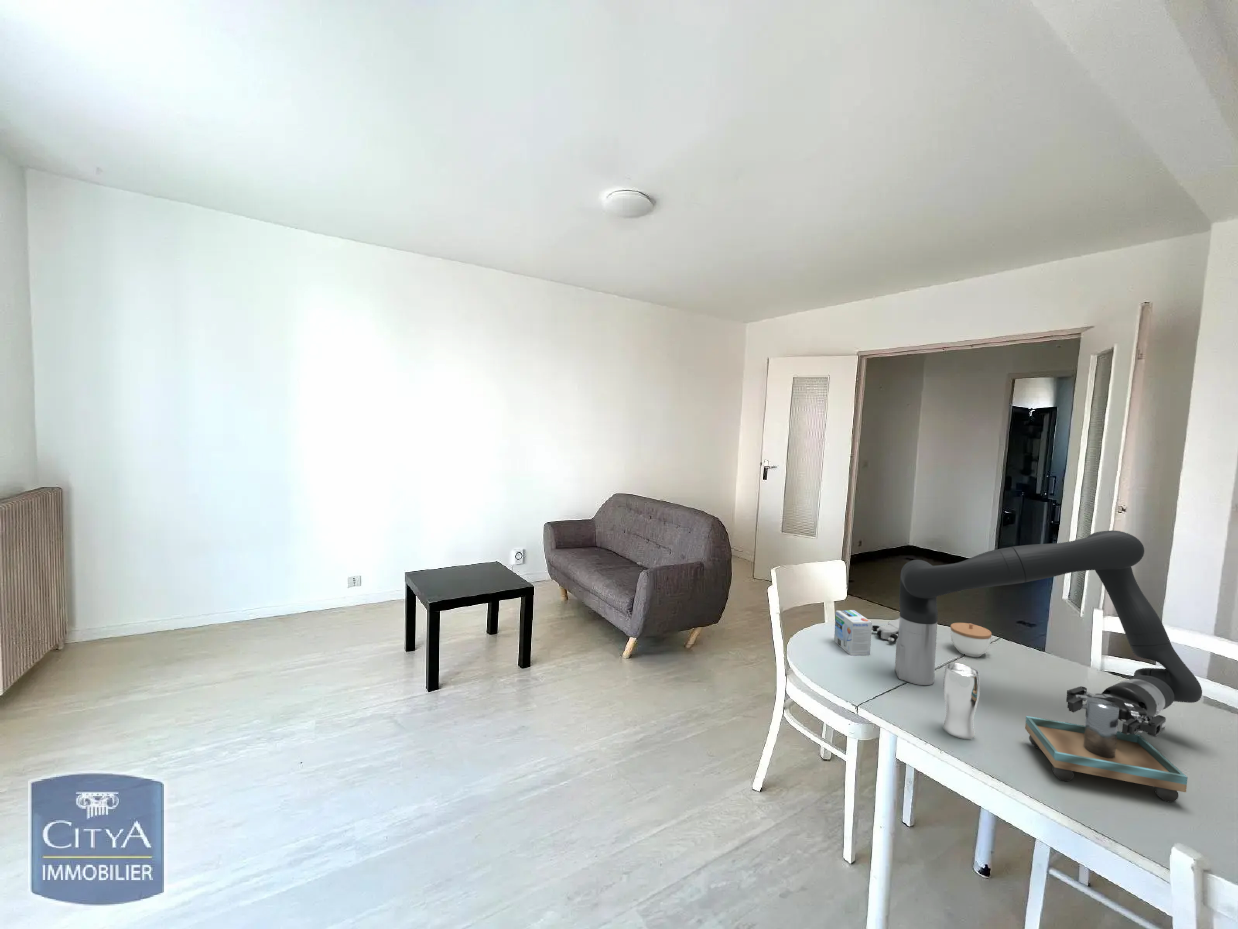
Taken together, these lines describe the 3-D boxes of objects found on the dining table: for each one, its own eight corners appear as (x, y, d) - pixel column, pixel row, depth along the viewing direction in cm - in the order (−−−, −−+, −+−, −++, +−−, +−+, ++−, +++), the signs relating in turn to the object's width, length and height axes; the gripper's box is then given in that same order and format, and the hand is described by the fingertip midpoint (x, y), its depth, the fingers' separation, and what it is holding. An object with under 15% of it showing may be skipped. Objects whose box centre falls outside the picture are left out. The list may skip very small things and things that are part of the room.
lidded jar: (964, 643, 167) (965, 616, 167) (998, 657, 157) (1000, 628, 157) (941, 648, 164) (942, 620, 163) (974, 662, 154) (976, 632, 153)
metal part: (1090, 755, 103) (1094, 707, 102) (1078, 741, 107) (1081, 696, 107) (1121, 760, 101) (1124, 712, 100) (1107, 746, 106) (1110, 700, 105)
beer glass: (977, 744, 113) (982, 679, 112) (941, 734, 117) (944, 671, 116) (975, 729, 119) (979, 667, 118) (940, 720, 123) (944, 660, 122)
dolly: (1053, 781, 101) (1055, 753, 101) (1024, 741, 114) (1026, 716, 114) (1184, 807, 95) (1187, 777, 94) (1137, 761, 108) (1139, 734, 107)
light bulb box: (833, 641, 168) (834, 609, 167) (852, 641, 168) (854, 609, 168) (850, 656, 157) (852, 622, 156) (871, 655, 158) (873, 621, 157)
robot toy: (891, 650, 164) (929, 642, 168) (891, 636, 164) (929, 629, 167) (864, 635, 176) (900, 628, 180) (864, 622, 175) (900, 616, 179)
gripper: (1093, 669, 116) (1055, 684, 109) (1182, 699, 103) (1146, 718, 96) (1090, 701, 117) (1053, 717, 110) (1178, 735, 104) (1143, 756, 97)
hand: (1096, 717), depth 103 cm, fingers open, 8 cm apart
